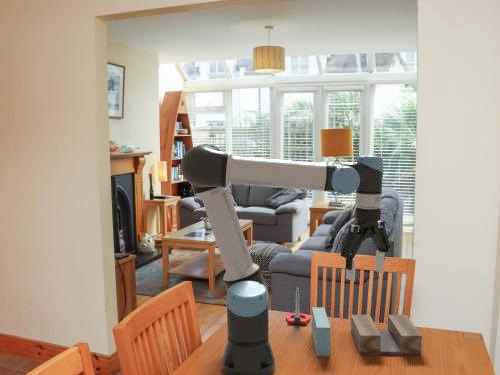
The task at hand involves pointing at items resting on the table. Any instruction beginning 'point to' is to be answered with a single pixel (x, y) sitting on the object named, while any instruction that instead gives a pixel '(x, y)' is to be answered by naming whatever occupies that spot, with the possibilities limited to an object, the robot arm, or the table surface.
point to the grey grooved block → (386, 336)
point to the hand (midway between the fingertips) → (365, 275)
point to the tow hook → (297, 314)
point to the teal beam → (320, 331)
